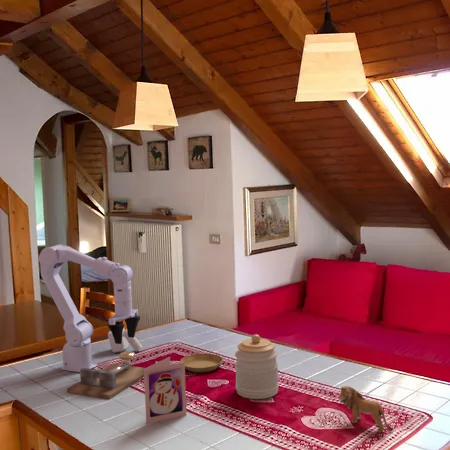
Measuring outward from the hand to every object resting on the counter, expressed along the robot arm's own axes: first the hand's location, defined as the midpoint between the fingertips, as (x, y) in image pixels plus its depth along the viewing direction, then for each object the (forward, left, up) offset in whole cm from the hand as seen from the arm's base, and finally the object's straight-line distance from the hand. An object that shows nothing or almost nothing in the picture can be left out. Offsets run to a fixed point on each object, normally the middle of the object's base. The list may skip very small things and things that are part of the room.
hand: (125, 340), depth 192 cm
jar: (+49, -2, -11) cm, 50 cm away
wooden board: (+2, -11, -10) cm, 15 cm away
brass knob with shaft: (+2, -6, -9) cm, 11 cm away
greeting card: (+31, -27, -11) cm, 42 cm away
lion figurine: (+83, -13, -11) cm, 85 cm away
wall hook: (-12, +18, -11) cm, 24 cm away
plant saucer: (+23, +12, -11) cm, 28 cm away
